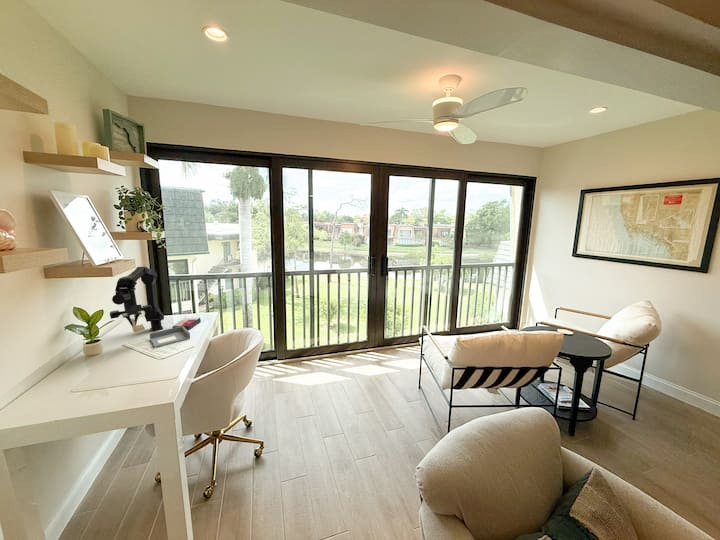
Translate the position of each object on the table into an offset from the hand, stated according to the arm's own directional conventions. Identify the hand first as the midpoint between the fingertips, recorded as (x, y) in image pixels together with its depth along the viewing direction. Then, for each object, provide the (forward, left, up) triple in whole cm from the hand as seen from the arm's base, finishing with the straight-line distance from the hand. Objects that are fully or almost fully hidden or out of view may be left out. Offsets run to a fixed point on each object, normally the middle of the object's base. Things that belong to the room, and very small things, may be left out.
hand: (133, 325), depth 167 cm
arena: (+4, +16, -12) cm, 20 cm away
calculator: (-13, +29, -13) cm, 34 cm away
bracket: (0, +2, -3) cm, 3 cm away
